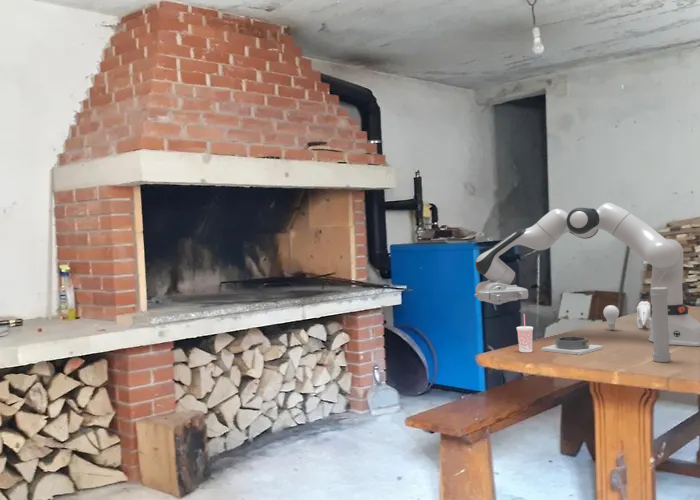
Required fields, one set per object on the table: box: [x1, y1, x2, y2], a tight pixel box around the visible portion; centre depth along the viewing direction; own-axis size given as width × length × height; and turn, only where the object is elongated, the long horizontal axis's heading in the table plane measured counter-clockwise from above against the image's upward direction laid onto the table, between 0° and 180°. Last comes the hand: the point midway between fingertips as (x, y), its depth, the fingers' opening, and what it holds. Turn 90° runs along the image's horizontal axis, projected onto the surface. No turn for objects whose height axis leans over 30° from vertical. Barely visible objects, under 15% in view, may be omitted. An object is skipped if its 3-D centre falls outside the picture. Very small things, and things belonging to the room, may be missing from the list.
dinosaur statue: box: [636, 300, 651, 330], centre depth 294 cm, size 7×24×11 cm, turn 154°
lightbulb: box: [602, 304, 620, 332], centre depth 292 cm, size 6×6×11 cm
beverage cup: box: [515, 313, 534, 353], centre depth 255 cm, size 6×6×14 cm
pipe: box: [649, 270, 672, 363], centre depth 225 cm, size 6×6×30 cm
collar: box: [554, 335, 591, 350], centre depth 253 cm, size 13×11×3 cm
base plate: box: [540, 343, 604, 356], centre depth 253 cm, size 16×16×1 cm
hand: (510, 296), depth 266 cm, fingers open, 8 cm apart
